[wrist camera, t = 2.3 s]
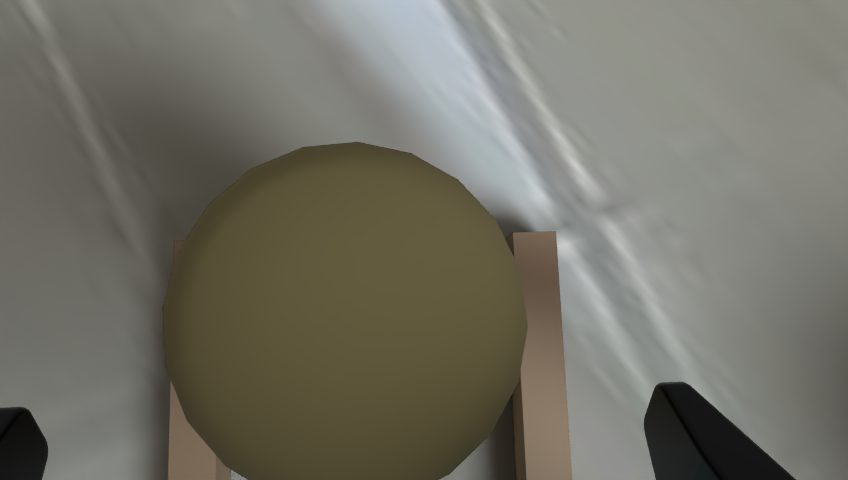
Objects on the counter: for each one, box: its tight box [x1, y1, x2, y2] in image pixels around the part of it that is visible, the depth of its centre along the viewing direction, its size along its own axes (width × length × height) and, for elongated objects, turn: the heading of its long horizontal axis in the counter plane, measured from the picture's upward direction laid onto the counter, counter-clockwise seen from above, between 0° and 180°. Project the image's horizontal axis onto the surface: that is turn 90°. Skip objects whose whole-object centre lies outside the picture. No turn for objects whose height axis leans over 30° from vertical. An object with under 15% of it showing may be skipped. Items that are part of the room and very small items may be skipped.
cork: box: [162, 142, 528, 480], centre depth 13 cm, size 6×6×11 cm
